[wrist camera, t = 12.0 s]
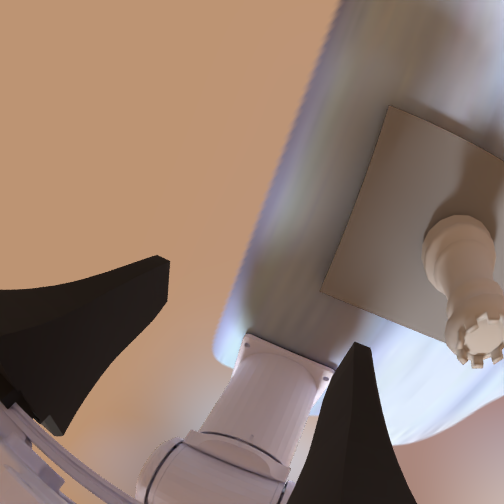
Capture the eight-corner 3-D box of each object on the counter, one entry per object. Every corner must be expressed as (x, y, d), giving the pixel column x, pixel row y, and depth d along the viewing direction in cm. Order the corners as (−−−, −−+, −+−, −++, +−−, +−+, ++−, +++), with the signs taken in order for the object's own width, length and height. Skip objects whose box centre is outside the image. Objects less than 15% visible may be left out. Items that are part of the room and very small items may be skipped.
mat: (478, 347, 18) (480, 356, 18) (322, 283, 21) (319, 291, 20) (566, 204, 12) (573, 210, 11) (388, 105, 15) (389, 105, 14)
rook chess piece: (471, 196, 14) (522, 270, 8) (500, 260, 15) (543, 354, 8) (406, 237, 17) (412, 330, 10) (440, 294, 17) (452, 397, 11)
